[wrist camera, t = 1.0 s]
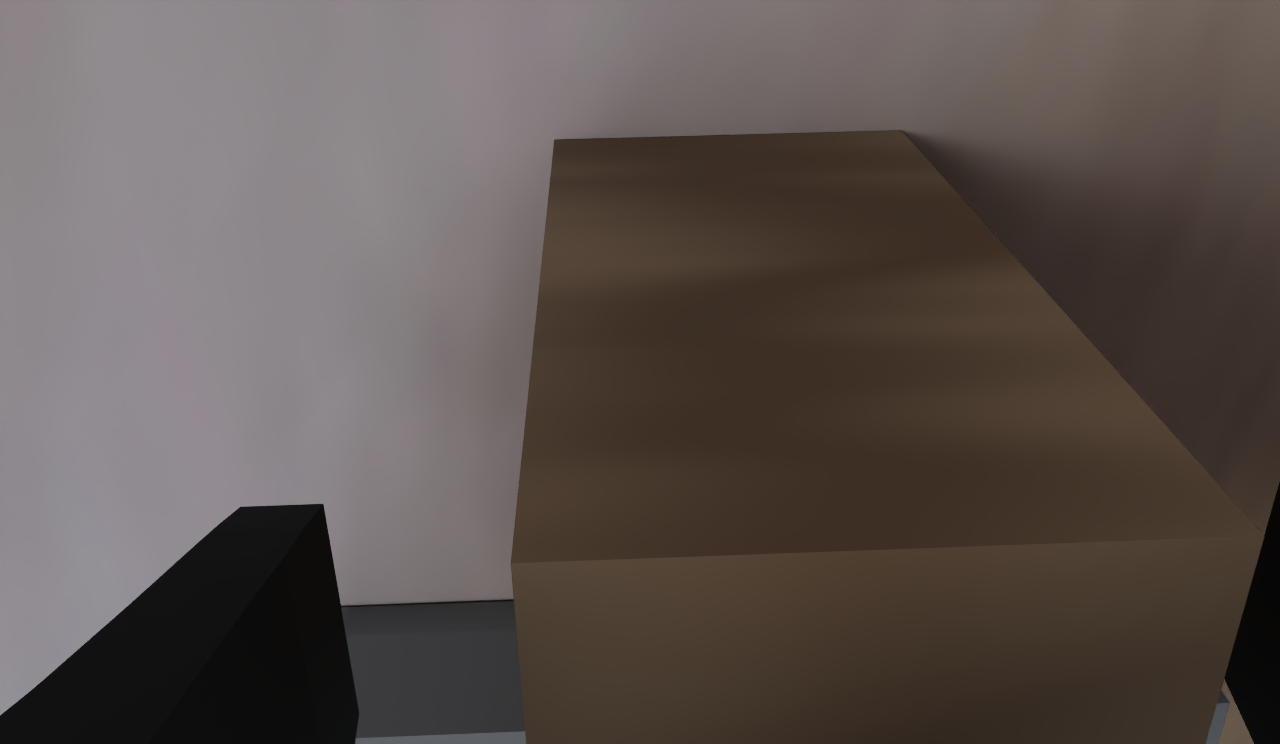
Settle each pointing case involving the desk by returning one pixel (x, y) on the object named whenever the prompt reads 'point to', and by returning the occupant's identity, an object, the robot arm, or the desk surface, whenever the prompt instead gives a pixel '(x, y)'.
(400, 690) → the socket box
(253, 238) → the desk surface
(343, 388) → the desk surface
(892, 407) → the peg
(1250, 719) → the robot arm
